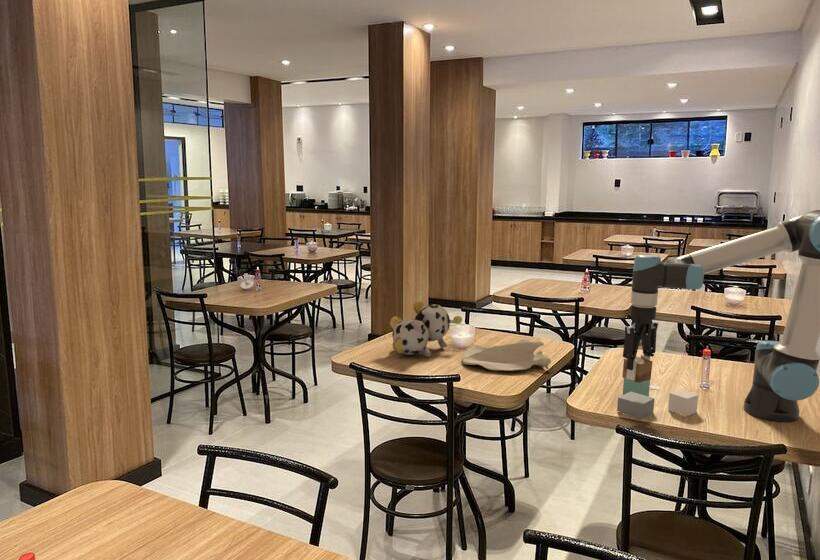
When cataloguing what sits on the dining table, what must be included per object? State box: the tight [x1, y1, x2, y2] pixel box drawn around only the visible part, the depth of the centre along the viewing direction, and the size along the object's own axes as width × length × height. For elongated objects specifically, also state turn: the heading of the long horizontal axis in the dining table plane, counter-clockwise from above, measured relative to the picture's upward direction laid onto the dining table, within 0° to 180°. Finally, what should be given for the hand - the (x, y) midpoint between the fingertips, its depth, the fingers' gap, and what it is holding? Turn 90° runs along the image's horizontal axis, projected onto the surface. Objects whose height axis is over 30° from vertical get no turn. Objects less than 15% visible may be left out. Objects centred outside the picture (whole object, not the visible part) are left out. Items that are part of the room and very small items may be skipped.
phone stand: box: [649, 384, 660, 391], centre depth 215 cm, size 20×12×2 cm, turn 157°
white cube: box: [667, 388, 699, 417], centre depth 191 cm, size 6×6×6 cm
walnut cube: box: [622, 355, 654, 383], centre depth 189 cm, size 6×6×6 cm
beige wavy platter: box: [461, 339, 552, 372], centre depth 237 cm, size 36×21×11 cm, turn 59°
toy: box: [389, 299, 463, 358], centre depth 253 cm, size 21×33×20 cm
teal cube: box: [622, 378, 651, 397], centre depth 205 cm, size 6×6×6 cm
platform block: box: [616, 392, 655, 420], centre depth 190 cm, size 8×8×5 cm
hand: (637, 377), depth 189 cm, fingers closed on walnut cube, 6 cm apart
